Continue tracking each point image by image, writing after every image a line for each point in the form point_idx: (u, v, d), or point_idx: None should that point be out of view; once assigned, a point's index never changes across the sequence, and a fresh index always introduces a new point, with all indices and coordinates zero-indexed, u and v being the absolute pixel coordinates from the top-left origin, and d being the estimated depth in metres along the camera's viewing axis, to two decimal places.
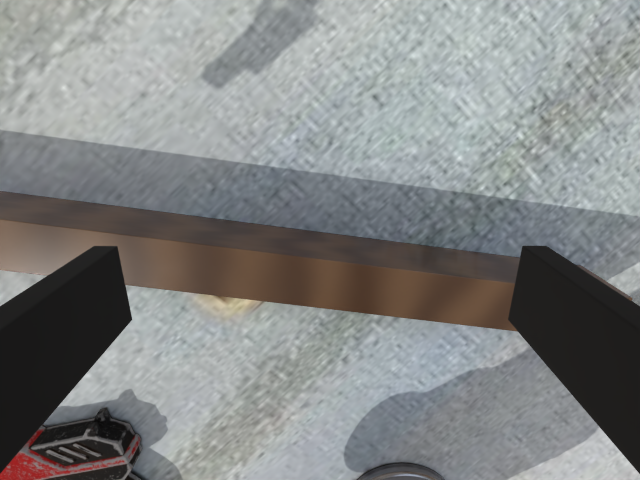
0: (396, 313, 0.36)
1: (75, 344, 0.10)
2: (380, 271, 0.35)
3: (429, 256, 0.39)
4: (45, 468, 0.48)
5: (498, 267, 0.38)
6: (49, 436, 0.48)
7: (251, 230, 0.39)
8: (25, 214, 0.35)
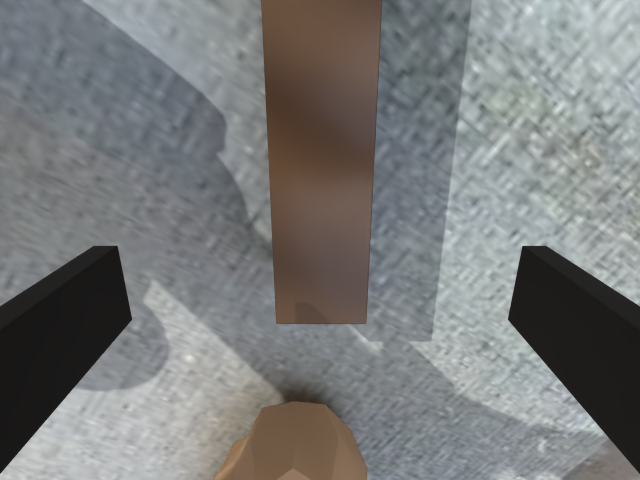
0: None
1: (75, 344, 0.10)
2: None
3: None
4: None
5: None
6: None
7: None
8: None
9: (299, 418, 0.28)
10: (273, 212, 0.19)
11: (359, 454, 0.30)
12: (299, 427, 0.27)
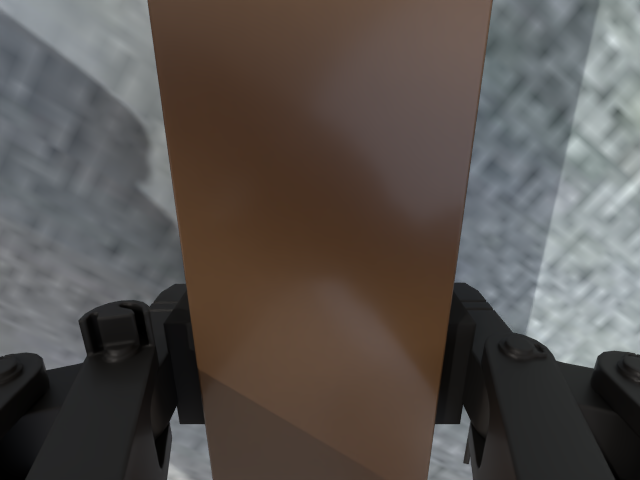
0: None
1: None
2: None
3: None
4: None
5: None
6: None
7: None
8: None
9: None
10: (203, 374, 0.08)
11: None
12: None
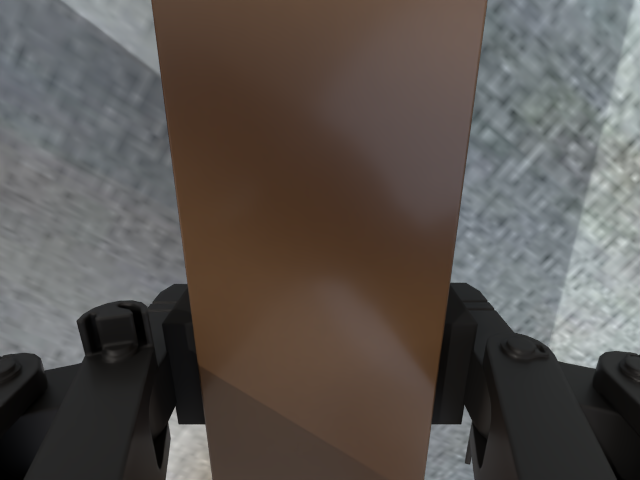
0: None
1: None
2: None
3: None
4: None
5: None
6: None
7: None
8: None
9: None
10: (203, 368, 0.08)
11: None
12: None
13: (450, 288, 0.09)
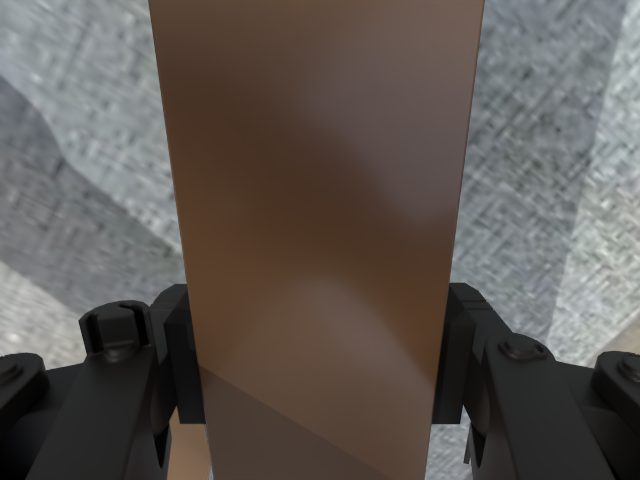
0: None
1: None
2: None
3: None
4: None
5: None
6: None
7: None
8: None
9: None
10: (203, 368, 0.08)
11: (205, 448, 0.25)
12: None
13: (449, 288, 0.09)
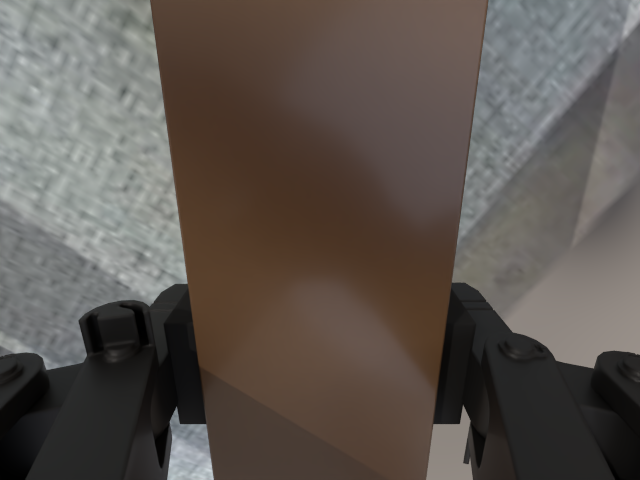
0: None
1: None
2: None
3: None
4: None
5: None
6: None
7: None
8: None
9: None
10: (204, 368, 0.08)
11: None
12: None
13: None
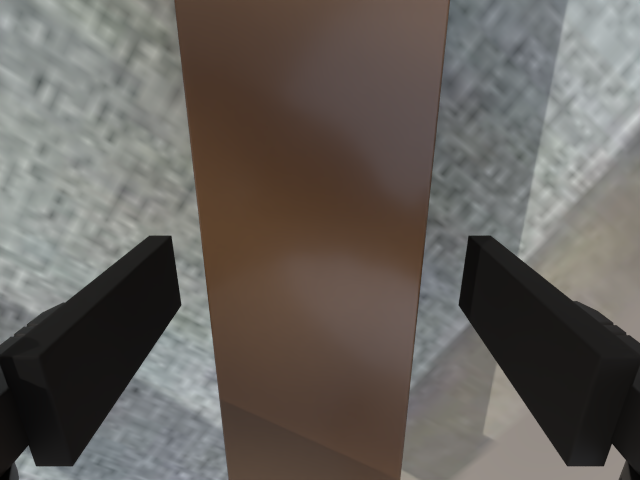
0: None
1: (143, 324, 0.11)
2: None
3: None
4: None
5: None
6: None
7: None
8: None
9: None
10: (213, 309, 0.09)
11: None
12: None
13: (582, 311, 0.08)
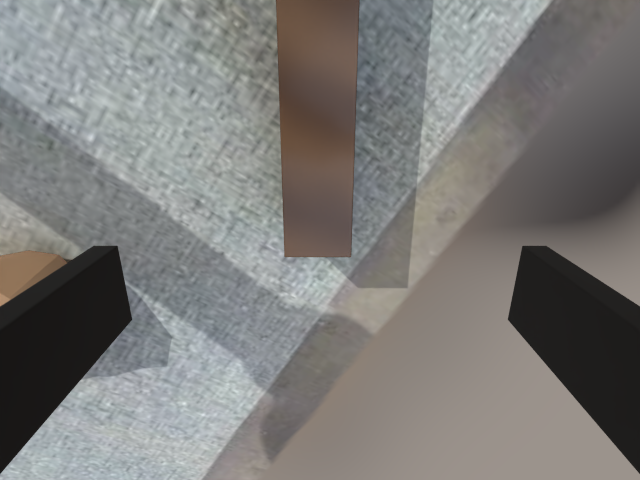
0: None
1: (75, 344, 0.10)
2: None
3: None
4: None
5: None
6: None
7: None
8: None
9: (18, 256, 0.33)
10: (283, 171, 0.26)
11: None
12: (9, 259, 0.32)
13: None
